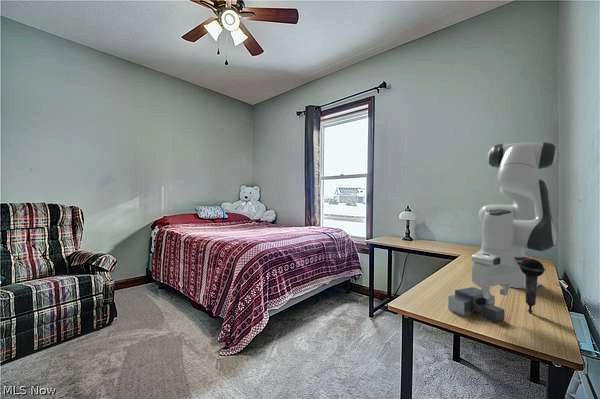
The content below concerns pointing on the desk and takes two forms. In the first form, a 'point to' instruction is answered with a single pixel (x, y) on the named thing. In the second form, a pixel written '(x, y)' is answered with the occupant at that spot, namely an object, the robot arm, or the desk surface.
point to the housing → (467, 301)
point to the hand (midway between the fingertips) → (495, 296)
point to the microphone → (531, 279)
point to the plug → (491, 312)
